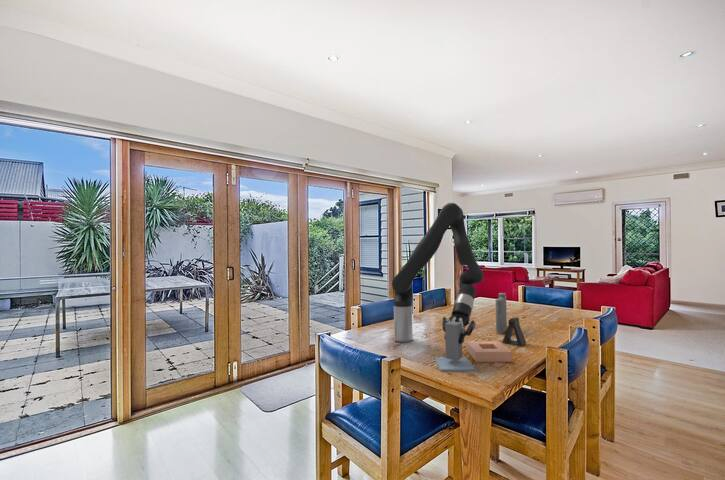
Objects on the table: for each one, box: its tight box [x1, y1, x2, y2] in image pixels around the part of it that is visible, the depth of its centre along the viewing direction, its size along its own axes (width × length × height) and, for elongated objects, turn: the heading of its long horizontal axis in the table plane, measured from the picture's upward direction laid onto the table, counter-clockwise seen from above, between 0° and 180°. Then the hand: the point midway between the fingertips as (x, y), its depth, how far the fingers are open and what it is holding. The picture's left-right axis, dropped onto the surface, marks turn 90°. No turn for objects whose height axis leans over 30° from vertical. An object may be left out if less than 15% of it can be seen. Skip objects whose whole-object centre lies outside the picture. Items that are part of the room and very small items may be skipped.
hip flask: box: [495, 292, 508, 335], centre depth 186 cm, size 16×4×20 cm, turn 149°
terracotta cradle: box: [466, 340, 513, 363], centre depth 147 cm, size 14×14×4 cm
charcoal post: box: [444, 321, 464, 361], centre depth 139 cm, size 5×5×14 cm
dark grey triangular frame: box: [502, 316, 527, 347], centre depth 164 cm, size 9×6×12 cm, turn 48°
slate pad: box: [434, 356, 476, 372], centre depth 138 cm, size 13×13×1 cm
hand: (453, 341), depth 138 cm, fingers closed on charcoal post, 5 cm apart
